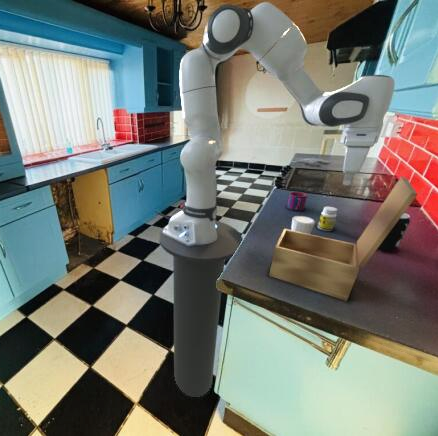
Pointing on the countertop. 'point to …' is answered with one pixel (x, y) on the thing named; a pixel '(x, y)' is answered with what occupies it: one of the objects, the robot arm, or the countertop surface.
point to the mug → (296, 201)
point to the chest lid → (385, 219)
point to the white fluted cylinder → (302, 224)
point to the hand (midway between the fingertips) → (346, 180)
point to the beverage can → (395, 234)
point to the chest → (316, 263)
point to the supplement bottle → (327, 218)
